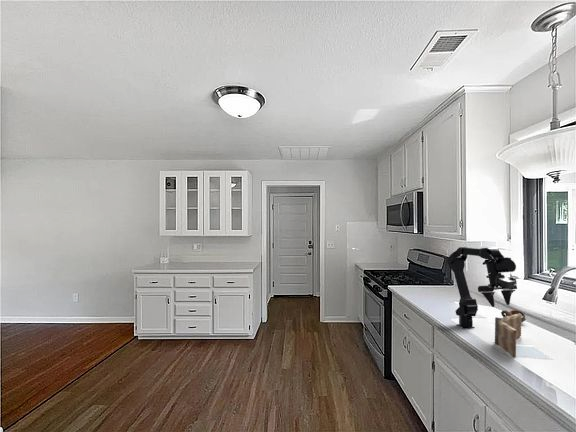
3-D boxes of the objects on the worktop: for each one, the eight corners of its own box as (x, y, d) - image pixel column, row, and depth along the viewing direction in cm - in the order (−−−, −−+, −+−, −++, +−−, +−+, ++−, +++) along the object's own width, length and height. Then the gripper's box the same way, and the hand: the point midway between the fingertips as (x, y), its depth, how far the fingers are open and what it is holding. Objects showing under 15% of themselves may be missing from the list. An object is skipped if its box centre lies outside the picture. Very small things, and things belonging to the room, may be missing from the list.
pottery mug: (524, 322, 199) (528, 312, 195) (521, 333, 193) (524, 322, 189) (501, 313, 206) (504, 303, 202) (496, 323, 200) (500, 313, 196)
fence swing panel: (501, 343, 161) (501, 319, 161) (498, 342, 162) (498, 318, 162) (521, 336, 171) (521, 314, 171) (518, 335, 172) (518, 313, 172)
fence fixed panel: (493, 342, 162) (494, 317, 162) (499, 343, 162) (499, 317, 162) (511, 356, 146) (511, 328, 146) (517, 357, 145) (517, 328, 146)
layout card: (491, 342, 163) (491, 342, 163) (530, 345, 161) (530, 344, 161) (508, 356, 146) (508, 356, 146) (552, 360, 144) (552, 359, 144)
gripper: (493, 273, 159) (500, 308, 156) (523, 271, 165) (531, 304, 162) (474, 274, 170) (480, 307, 166) (503, 272, 175) (509, 304, 172)
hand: (500, 305), depth 166 cm, fingers open, 9 cm apart
